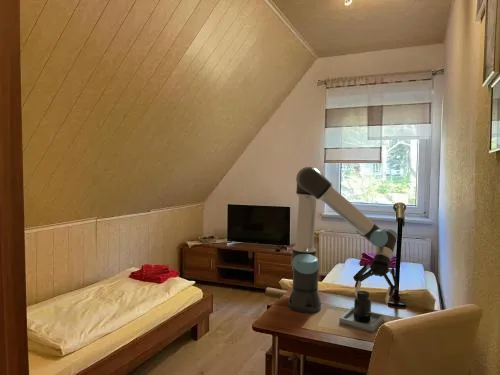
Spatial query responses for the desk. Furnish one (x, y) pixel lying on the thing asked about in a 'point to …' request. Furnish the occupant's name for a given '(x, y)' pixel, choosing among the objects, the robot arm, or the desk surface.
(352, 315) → the tray
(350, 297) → the desk surface
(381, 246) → the robot arm
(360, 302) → the supplement bottle
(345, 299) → the desk surface
